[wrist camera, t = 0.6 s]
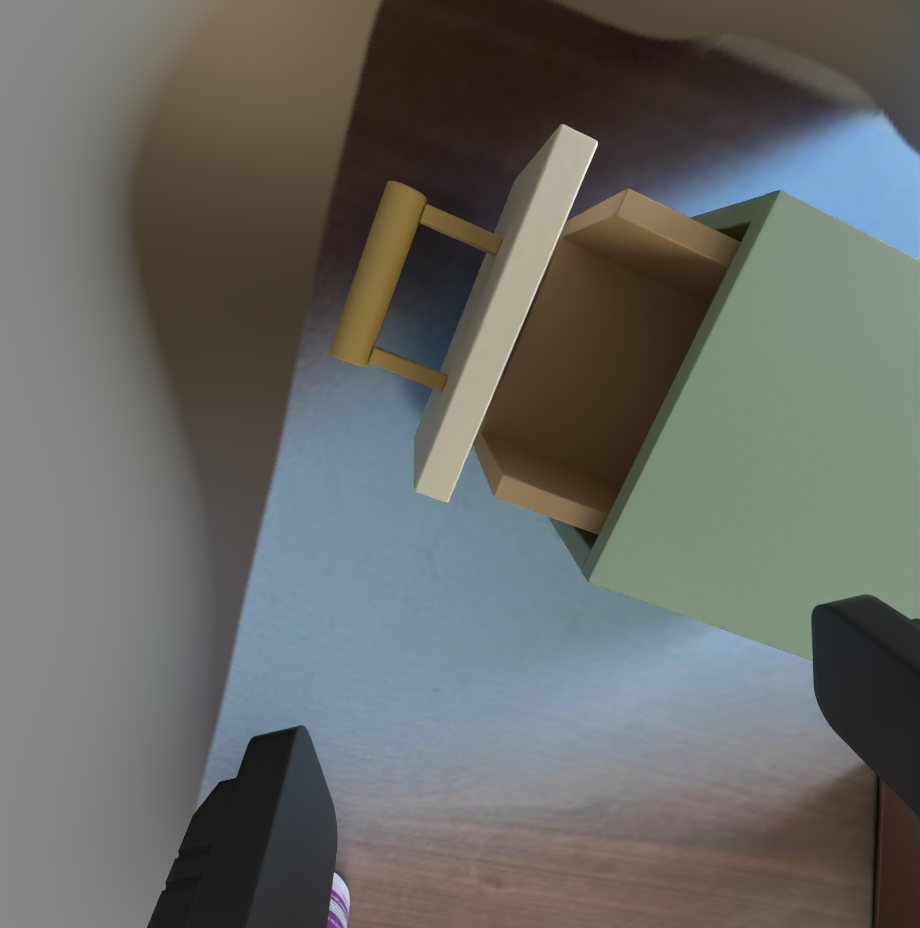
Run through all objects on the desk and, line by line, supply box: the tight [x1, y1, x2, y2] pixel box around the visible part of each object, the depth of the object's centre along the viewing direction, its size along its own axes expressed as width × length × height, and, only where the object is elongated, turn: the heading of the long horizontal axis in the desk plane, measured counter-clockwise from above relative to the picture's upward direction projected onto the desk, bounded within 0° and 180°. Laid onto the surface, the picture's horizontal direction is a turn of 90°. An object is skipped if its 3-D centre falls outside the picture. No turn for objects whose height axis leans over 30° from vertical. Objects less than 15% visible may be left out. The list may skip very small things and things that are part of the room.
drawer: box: [329, 124, 741, 535], centre depth 22 cm, size 18×11×8 cm, turn 68°
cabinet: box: [548, 190, 920, 661], centre depth 23 cm, size 15×13×10 cm
